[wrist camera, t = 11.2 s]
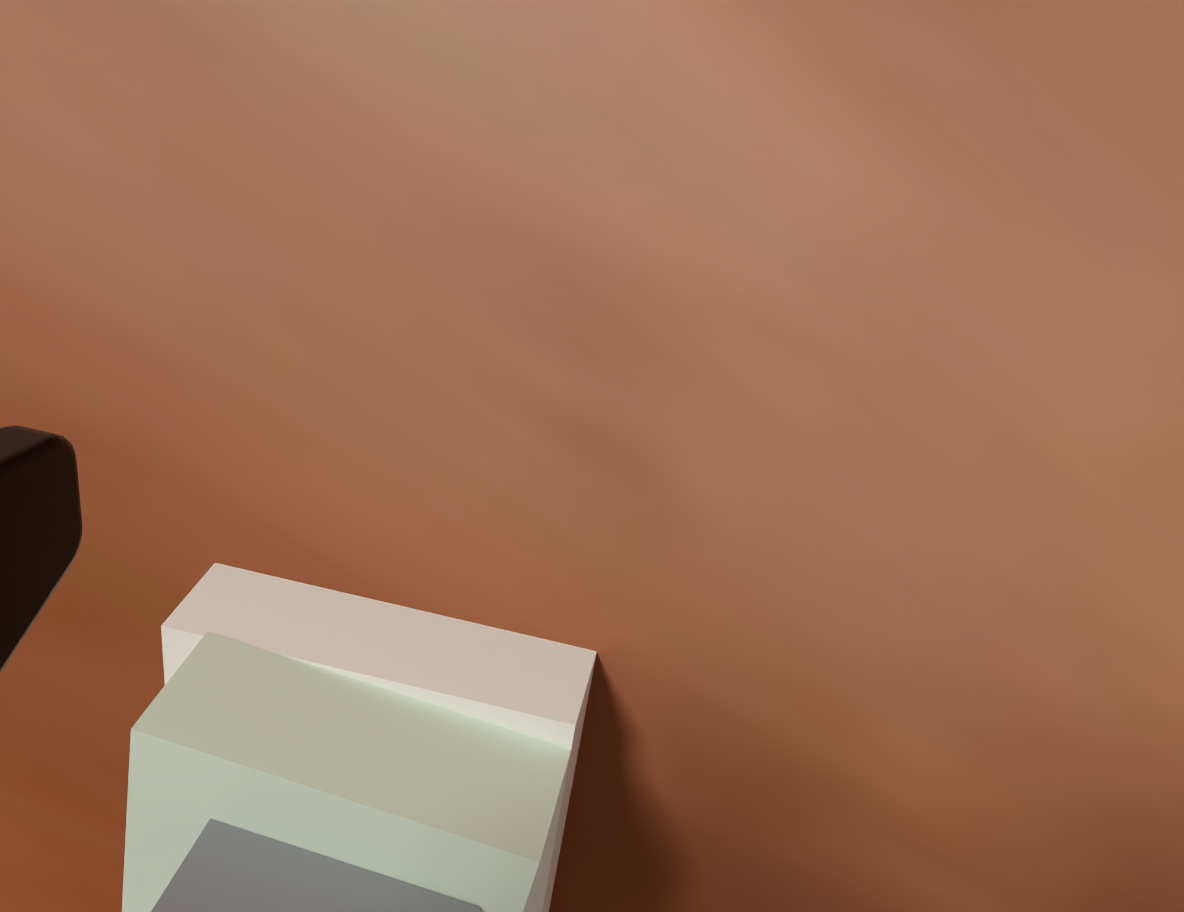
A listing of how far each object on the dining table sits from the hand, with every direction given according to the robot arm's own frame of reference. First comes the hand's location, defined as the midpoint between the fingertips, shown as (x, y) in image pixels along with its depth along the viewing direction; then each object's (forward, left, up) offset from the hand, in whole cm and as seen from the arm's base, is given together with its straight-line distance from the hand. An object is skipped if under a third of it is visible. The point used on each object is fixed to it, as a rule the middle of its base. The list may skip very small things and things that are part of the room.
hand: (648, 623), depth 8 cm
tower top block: (+5, +15, -11) cm, 19 cm away
